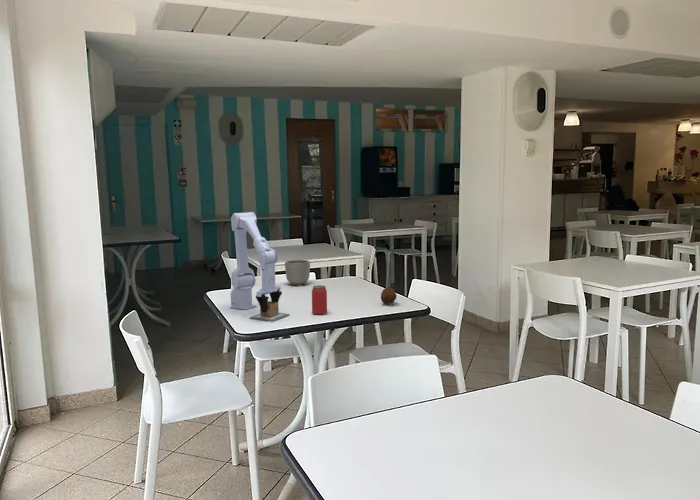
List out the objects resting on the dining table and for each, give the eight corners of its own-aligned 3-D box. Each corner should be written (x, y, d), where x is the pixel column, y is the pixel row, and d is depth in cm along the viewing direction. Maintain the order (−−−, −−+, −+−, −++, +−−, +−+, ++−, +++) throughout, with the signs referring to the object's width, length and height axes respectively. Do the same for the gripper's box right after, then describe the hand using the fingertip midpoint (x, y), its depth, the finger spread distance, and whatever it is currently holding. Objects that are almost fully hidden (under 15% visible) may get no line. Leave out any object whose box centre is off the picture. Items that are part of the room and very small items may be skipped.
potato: (393, 301, 263) (393, 285, 262) (398, 306, 253) (398, 289, 252) (378, 302, 262) (378, 285, 261) (382, 306, 252) (382, 290, 251)
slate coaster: (249, 318, 234) (249, 317, 234) (266, 312, 244) (266, 310, 244) (272, 322, 228) (272, 320, 228) (289, 315, 239) (289, 313, 238)
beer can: (325, 315, 238) (324, 288, 236) (310, 314, 239) (309, 287, 238) (328, 311, 244) (328, 285, 243) (314, 311, 246) (313, 284, 244)
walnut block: (260, 316, 235) (260, 303, 234) (268, 313, 240) (268, 301, 239) (270, 317, 232) (270, 305, 232) (278, 314, 237) (278, 302, 236)
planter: (309, 287, 298) (308, 263, 296) (283, 287, 298) (283, 263, 297) (311, 282, 312) (311, 259, 310) (287, 282, 312) (286, 259, 310)
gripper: (265, 282, 226) (266, 314, 228) (286, 276, 238) (286, 307, 240) (252, 281, 229) (253, 312, 231) (272, 275, 242) (273, 305, 244)
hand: (269, 309), depth 236 cm, fingers open, 7 cm apart
